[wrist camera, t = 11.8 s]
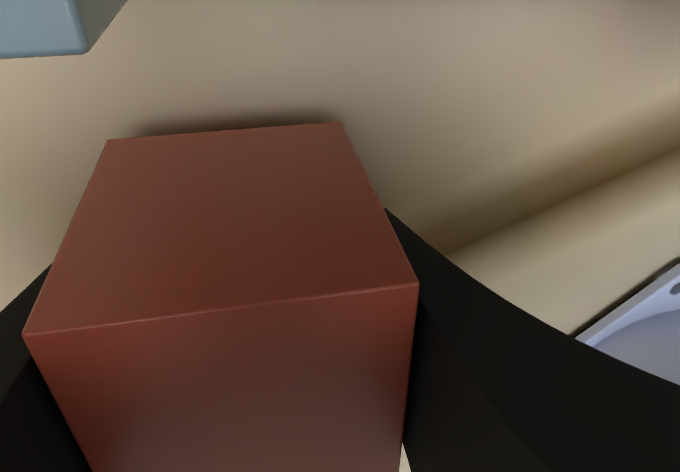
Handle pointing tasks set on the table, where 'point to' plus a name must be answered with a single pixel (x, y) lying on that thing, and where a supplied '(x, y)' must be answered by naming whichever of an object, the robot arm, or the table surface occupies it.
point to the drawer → (53, 26)
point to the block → (230, 308)
